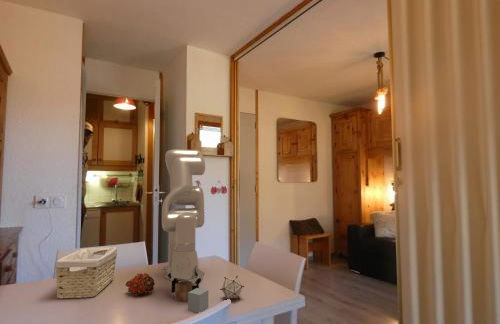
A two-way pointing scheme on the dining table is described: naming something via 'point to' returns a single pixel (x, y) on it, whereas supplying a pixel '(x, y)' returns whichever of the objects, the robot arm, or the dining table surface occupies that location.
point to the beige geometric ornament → (232, 287)
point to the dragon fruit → (141, 284)
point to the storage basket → (85, 272)
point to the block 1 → (183, 290)
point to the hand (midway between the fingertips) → (184, 293)
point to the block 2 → (197, 300)
